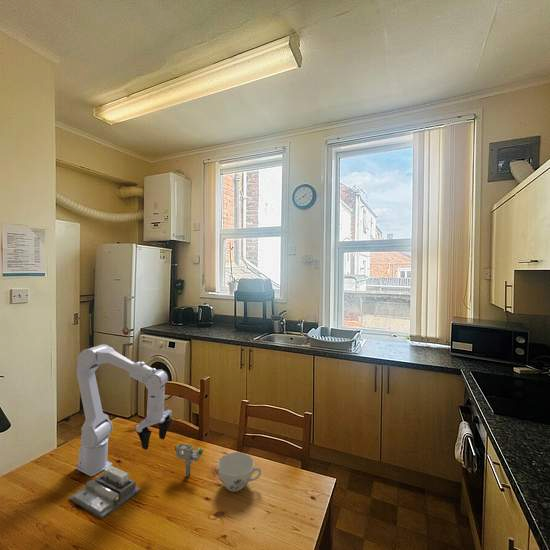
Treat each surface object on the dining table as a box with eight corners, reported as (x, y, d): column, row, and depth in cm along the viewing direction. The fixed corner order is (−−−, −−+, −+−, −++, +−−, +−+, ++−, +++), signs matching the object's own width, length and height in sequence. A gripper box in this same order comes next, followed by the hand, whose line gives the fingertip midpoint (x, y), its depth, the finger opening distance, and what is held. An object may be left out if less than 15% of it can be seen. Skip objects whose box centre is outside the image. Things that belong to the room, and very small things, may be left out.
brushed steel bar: (102, 484, 98) (103, 469, 98) (109, 480, 100) (110, 465, 100) (121, 493, 94) (121, 477, 94) (127, 489, 96) (128, 473, 96)
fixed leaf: (69, 499, 92) (69, 488, 92) (108, 475, 103) (108, 466, 104) (102, 519, 85) (102, 507, 85) (140, 491, 97) (140, 481, 97)
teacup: (212, 498, 95) (213, 473, 95) (220, 473, 107) (221, 451, 107) (258, 501, 94) (259, 476, 94) (261, 475, 107) (262, 453, 107)
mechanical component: (198, 480, 103) (200, 451, 103) (172, 475, 105) (173, 447, 105) (202, 475, 106) (203, 446, 106) (176, 470, 108) (178, 442, 108)
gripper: (147, 415, 98) (145, 457, 98) (178, 400, 111) (176, 437, 111) (132, 411, 101) (130, 450, 101) (164, 397, 114) (163, 432, 114)
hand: (153, 443), depth 106 cm, fingers open, 7 cm apart
